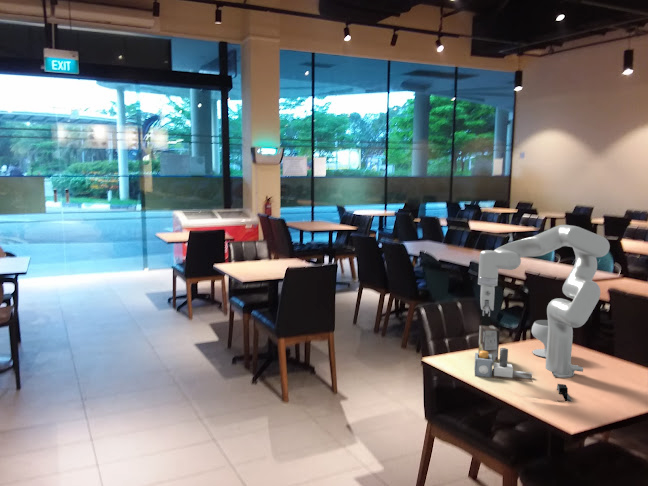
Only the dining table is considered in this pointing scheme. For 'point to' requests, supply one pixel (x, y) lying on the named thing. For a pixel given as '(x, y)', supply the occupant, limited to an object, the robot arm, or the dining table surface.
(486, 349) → the coffee box
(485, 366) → the grey open box
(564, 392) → the black slotted bracket
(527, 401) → the dining table surface
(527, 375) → the rail board
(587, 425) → the dining table surface
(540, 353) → the chalice
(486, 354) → the button
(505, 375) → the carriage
